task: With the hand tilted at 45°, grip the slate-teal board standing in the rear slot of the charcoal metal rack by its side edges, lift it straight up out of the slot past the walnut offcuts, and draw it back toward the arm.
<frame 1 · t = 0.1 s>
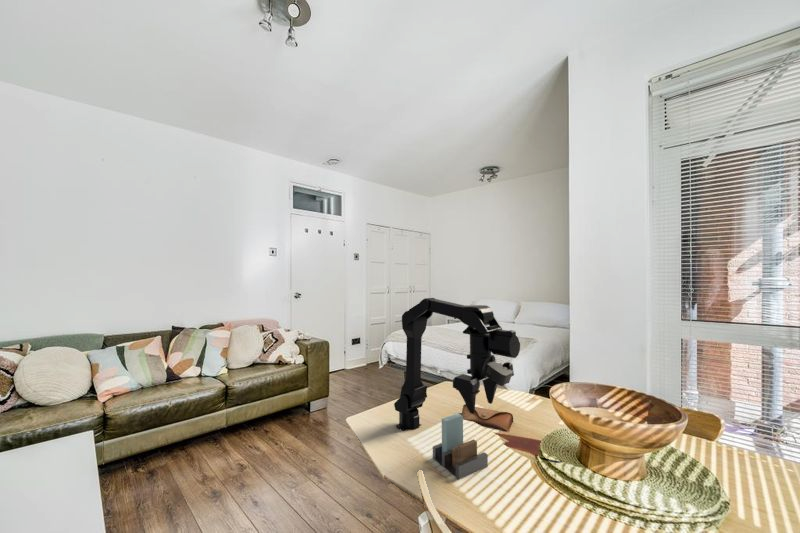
hand: (481, 408, 88), 15 cm above the table, tool pointing down, fingers open, 9 cm apart
rack: (452, 460, 89), on the table
sunglasses case: (485, 423, 112), on the table
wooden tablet: (514, 446, 97), on the table
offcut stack: (464, 466, 85), point 1 cm above the table, touching rack
tall sheet: (452, 457, 89), point 1 cm above the table, touching rack
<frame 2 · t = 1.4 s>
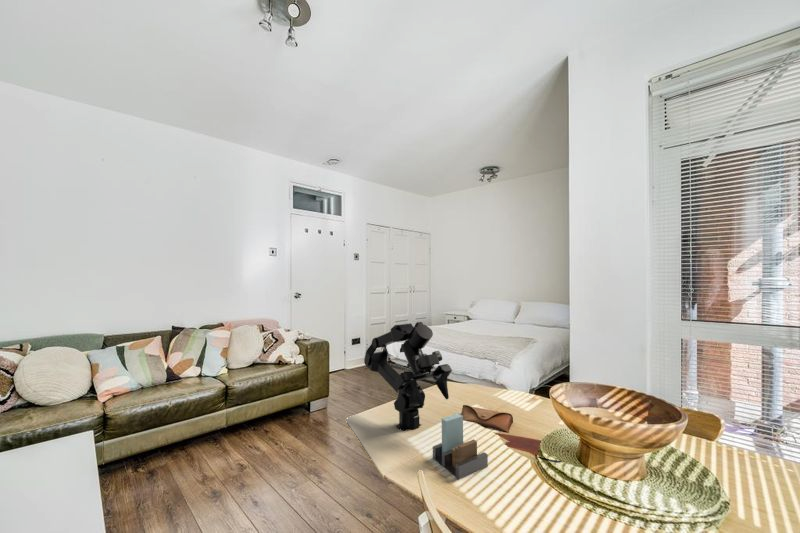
hand: (435, 402, 96), 13 cm above the table, tool tilted 45°, fingers open, 9 cm apart
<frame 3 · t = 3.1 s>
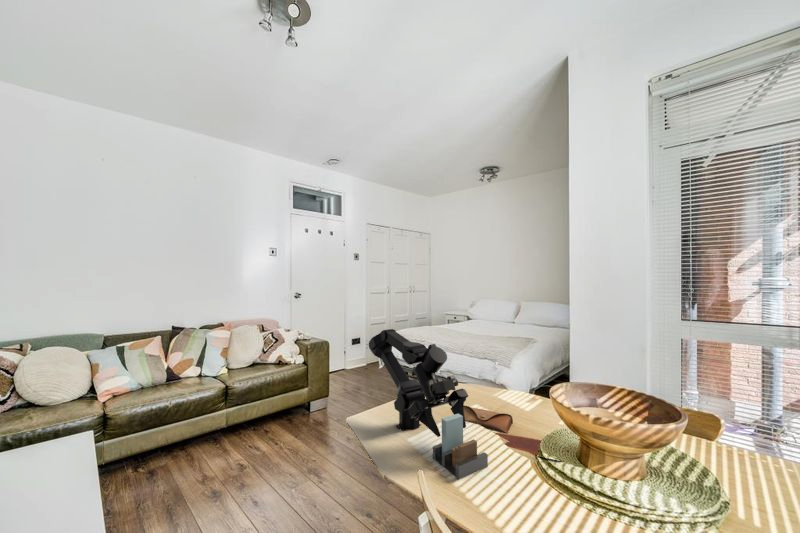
hand: (452, 431, 89), 8 cm above the table, tool tilted 45°, fingers open, 9 cm apart
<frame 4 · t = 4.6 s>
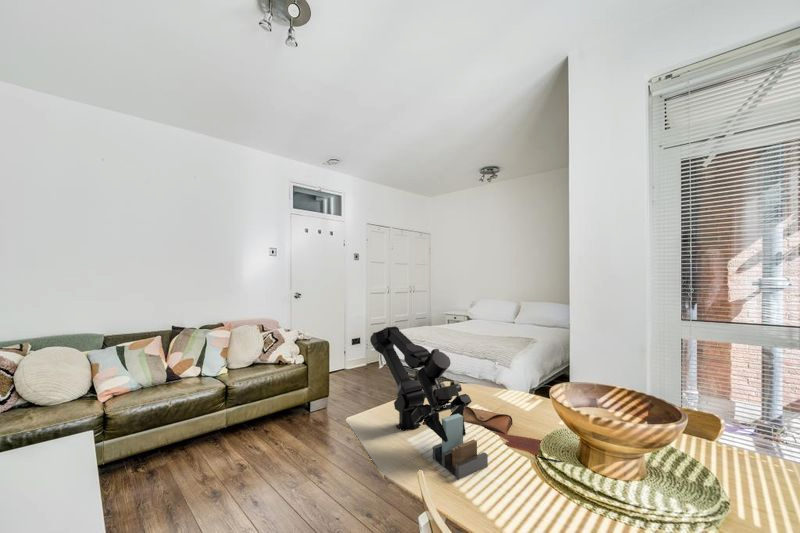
hand: (455, 438, 88), 7 cm above the table, tool tilted 45°, fingers closed on tall sheet, 6 cm apart
tall sheet: (452, 457, 89), point 1 cm above the table, touching gripper, rack
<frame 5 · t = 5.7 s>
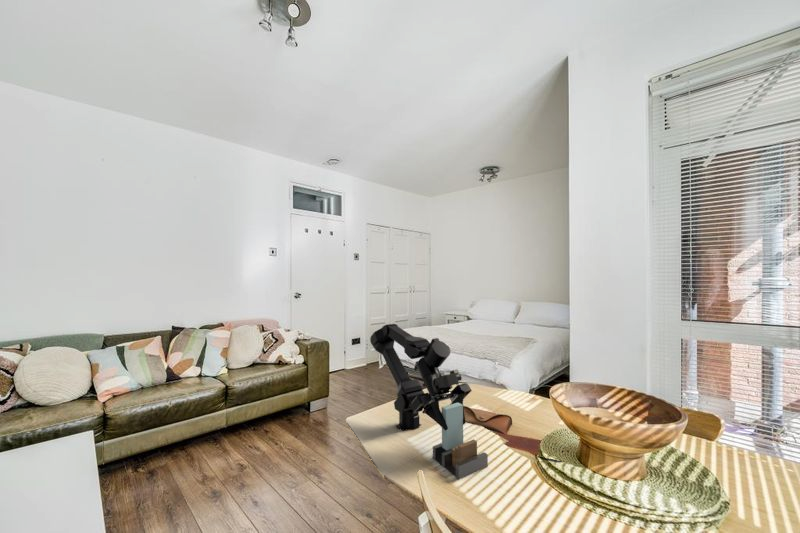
hand: (455, 426, 88), 10 cm above the table, tool tilted 45°, fingers closed on tall sheet, 6 cm apart
tall sheet: (452, 445, 89), point 4 cm above the table, touching gripper
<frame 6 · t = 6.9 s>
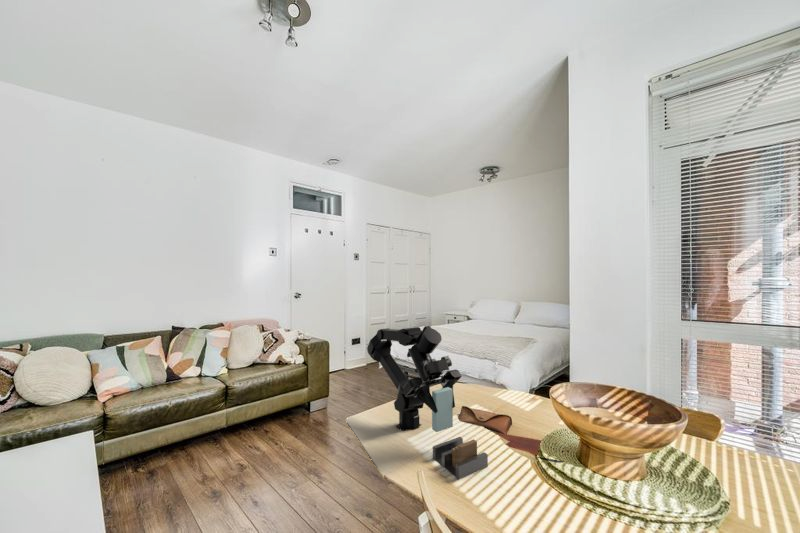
hand: (445, 409, 92), 13 cm above the table, tool tilted 45°, fingers closed on tall sheet, 6 cm apart
tall sheet: (442, 427, 93), point 7 cm above the table, touching gripper
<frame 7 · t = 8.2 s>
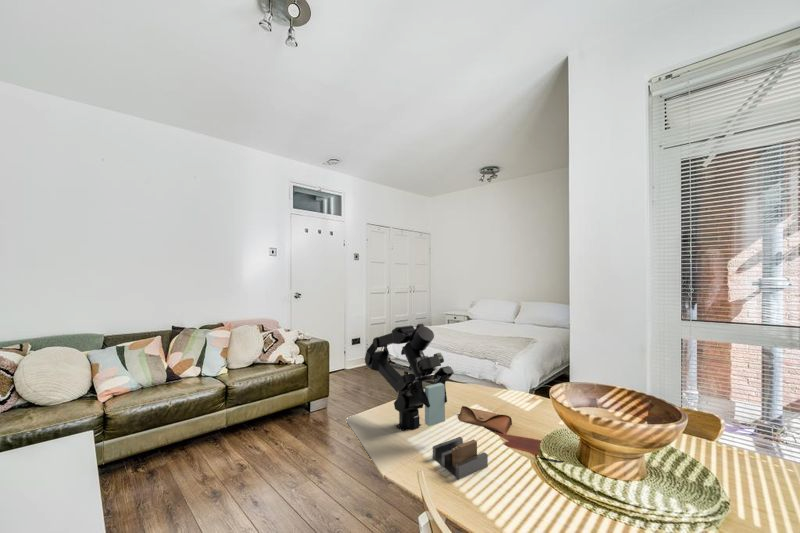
hand: (437, 404, 95), 13 cm above the table, tool tilted 45°, fingers closed on tall sheet, 6 cm apart
tall sheet: (435, 422, 96), point 7 cm above the table, touching gripper
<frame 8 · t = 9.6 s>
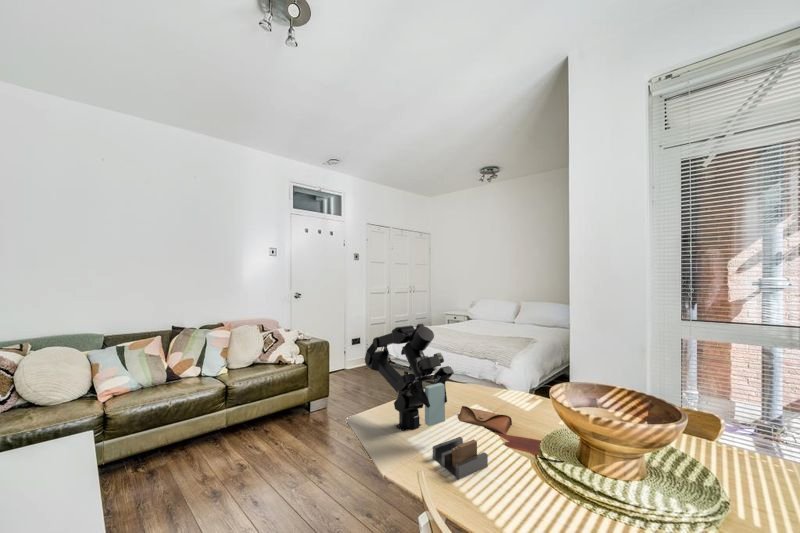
hand: (437, 404, 95), 13 cm above the table, tool tilted 45°, fingers closed on tall sheet, 6 cm apart
tall sheet: (435, 422, 96), point 7 cm above the table, touching gripper
at the end: the gripper is holding tall sheet; tall sheet point 7.3 cm above the table; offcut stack moved 0.0 cm from its start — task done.
